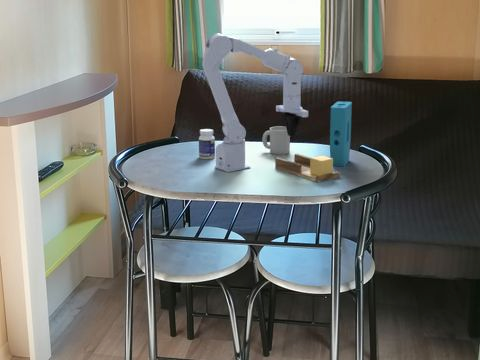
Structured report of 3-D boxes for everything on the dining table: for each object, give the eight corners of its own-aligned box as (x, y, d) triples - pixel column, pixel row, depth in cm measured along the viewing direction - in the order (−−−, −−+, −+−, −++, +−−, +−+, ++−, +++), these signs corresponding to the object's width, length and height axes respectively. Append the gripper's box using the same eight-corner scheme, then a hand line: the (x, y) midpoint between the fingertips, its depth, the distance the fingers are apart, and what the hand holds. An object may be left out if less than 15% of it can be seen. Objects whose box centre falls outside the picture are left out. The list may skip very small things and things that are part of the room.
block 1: (320, 176, 210) (321, 161, 208) (310, 173, 214) (310, 157, 212) (332, 173, 213) (333, 158, 211) (321, 170, 217) (322, 155, 215)
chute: (317, 182, 208) (317, 171, 207) (275, 168, 225) (275, 157, 224) (339, 177, 213) (340, 166, 212) (297, 163, 230) (297, 153, 229)
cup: (288, 155, 241) (288, 130, 239) (260, 154, 243) (260, 130, 241) (290, 150, 248) (291, 126, 246) (264, 149, 250) (263, 125, 248)
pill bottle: (214, 159, 237) (214, 131, 234) (198, 159, 237) (197, 131, 234) (215, 155, 242) (214, 128, 239) (199, 155, 242) (198, 128, 240)
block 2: (343, 167, 224) (345, 108, 219) (328, 166, 226) (330, 107, 220) (350, 158, 235) (352, 102, 229) (336, 157, 237) (337, 101, 231)
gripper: (315, 96, 220) (314, 137, 224) (287, 91, 231) (287, 130, 235) (299, 98, 216) (298, 140, 220) (271, 93, 227) (271, 132, 231)
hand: (291, 135), depth 227 cm, fingers closed
